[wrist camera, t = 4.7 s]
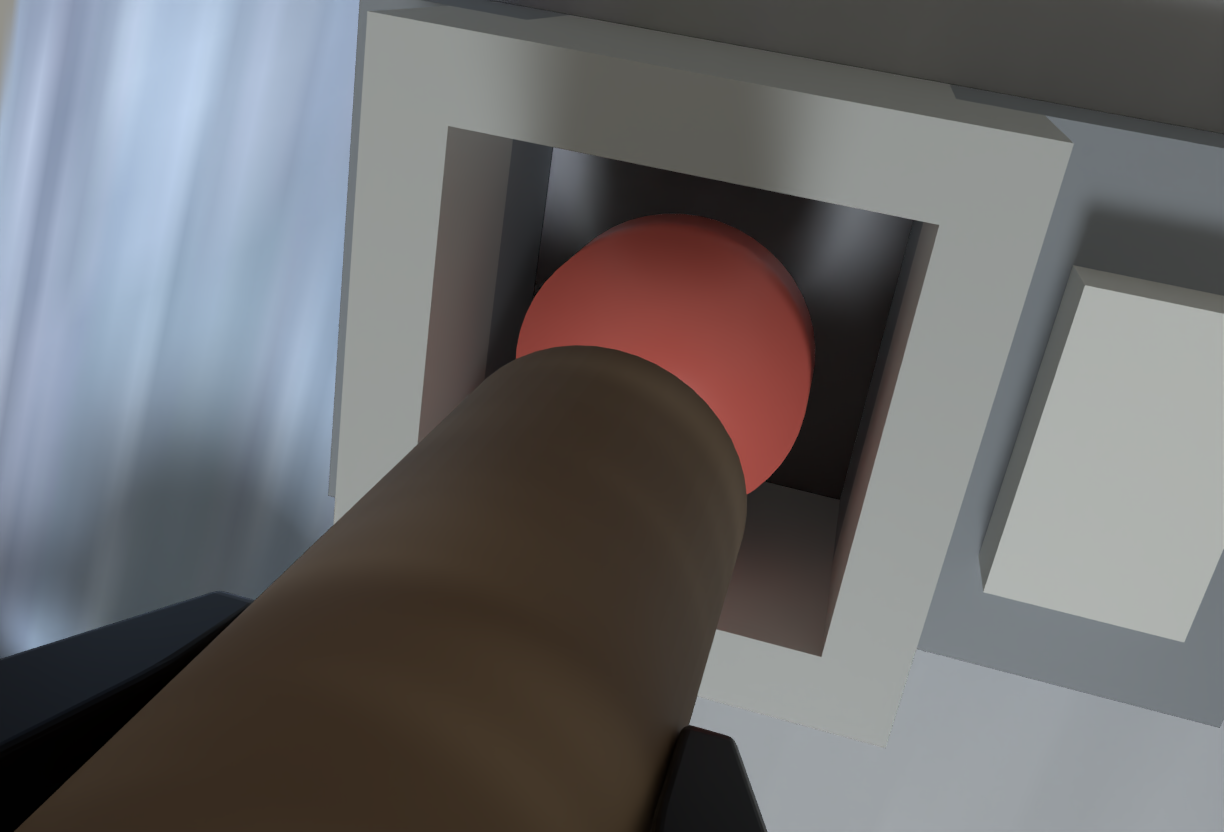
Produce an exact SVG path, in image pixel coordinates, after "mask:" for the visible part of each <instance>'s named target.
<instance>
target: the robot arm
mask: <svg viewBox="0 0 1224 832" xmlns="http://www.w3.org/2000/svg"><path fill="white" fill-rule="evenodd" d="M254 601H255V600H252V599H248V598H245V597H242V596H238V595H235V594H231V593H228V592H223V591H216V592H212V593H208V594H205V595H202V596H199V597H195V598H192V599H189V600H186V601H183V602H180V603H176V604H173V605H170V606H167V607H164V608H161V609H157V610H154V611H151V612H148V613H145V614H141V615H138V616H135V617H132V618H129V619H126V620H122V621H119V622H116V623H113V624H110V625H107V626H103V627H100V628H97V629H94V630H91V631H87V632H84V633H81V634H78V635H75V636H72V637H68V638H65V639H62V640H59V641H56V642H52V643H49V644H46V645H43V646H40V647H37V648H33V649H30V650H27V651H24V652H21V653H17V654H14V655H11V656H8V657H5V658H1V659H0V832H14V831H15V830H16V829H17V828H18V827H19V826H20V825H21V824H22V823H23V822H24V821H25V820H27V819H28V818H29V817H30V816H31V815H32V814H33V813H34V812H35V811H36V810H37V809H38V808H39V807H40V806H41V805H42V804H43V803H44V802H45V801H46V800H47V799H48V798H49V797H51V796H52V795H53V794H54V793H55V792H56V791H57V790H58V789H59V788H60V787H61V786H62V785H63V784H64V783H65V782H66V781H67V780H68V779H69V778H70V777H71V776H72V775H73V774H74V773H76V772H77V771H78V770H79V769H80V768H81V767H82V766H83V765H84V764H85V763H86V762H87V761H88V760H89V759H90V758H91V757H92V756H93V755H94V754H95V753H96V752H97V751H98V750H99V749H101V748H102V747H103V746H104V745H105V744H106V743H107V742H108V741H109V740H110V739H111V738H112V737H113V736H114V735H115V734H116V733H117V732H118V731H119V730H120V729H121V728H122V727H123V726H124V725H126V724H127V723H128V722H129V721H130V720H131V719H132V718H133V717H134V716H135V715H136V714H137V713H138V712H139V711H140V710H141V709H142V708H143V707H144V706H145V705H146V704H147V703H148V702H149V701H151V700H152V699H153V698H154V697H155V696H156V695H157V694H158V693H159V692H160V691H161V690H162V689H163V688H164V687H165V686H166V685H167V684H168V683H169V682H170V681H171V680H172V679H173V678H175V677H176V676H177V675H178V674H179V673H180V672H181V671H182V670H183V669H184V668H185V667H186V666H187V665H188V664H189V663H190V662H191V661H192V660H193V659H194V658H195V657H196V656H197V655H198V654H200V653H201V652H202V651H203V650H204V649H205V648H206V647H207V646H208V645H209V644H210V643H211V642H212V641H213V640H214V639H215V638H216V637H217V636H218V635H219V634H220V633H221V632H222V631H223V630H225V629H226V628H227V627H228V626H229V625H230V624H231V623H232V622H233V621H234V620H235V619H236V618H237V617H238V616H239V615H240V614H241V613H242V612H243V611H244V610H245V609H246V608H247V607H248V606H250V605H251V604H252V603H253V602H254ZM650 832H767V829H766V826H765V824H764V821H763V818H762V815H761V812H760V809H759V807H758V804H757V801H756V798H755V795H754V792H753V790H752V787H751V784H750V781H749V778H748V775H747V773H746V770H745V767H744V764H743V761H742V758H741V756H740V753H739V750H738V747H737V745H736V743H735V741H734V740H733V739H732V738H731V737H729V736H727V735H723V734H720V733H716V732H713V731H709V730H706V729H702V728H699V727H695V726H691V725H688V726H685V727H684V728H683V729H682V730H681V731H680V734H679V737H678V740H677V743H676V746H675V749H674V752H673V755H672V759H671V762H670V765H669V768H668V771H667V774H666V777H665V781H664V784H663V787H662V790H661V793H660V796H659V799H658V803H657V806H656V809H655V813H654V817H653V821H652V825H651V829H650Z"/></svg>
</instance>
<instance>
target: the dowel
mask: <svg viewBox="0 0 1224 832" xmlns="http://www.w3.org/2000/svg"><path fill="white" fill-rule="evenodd" d="M746 517H747V493H746V485H745V478H744V474H743V470H742V466H741V463H740V459H739V456H738V454H737V451H736V449H735V447H734V444H733V442H732V440H731V438H730V436H729V434H728V433H727V431H726V429H725V428H724V426H723V424H722V423H721V421H720V420H719V418H718V417H717V416H716V414H715V413H714V412H713V411H712V409H711V408H710V407H709V405H708V404H707V403H706V402H705V401H704V400H703V399H702V398H701V397H700V396H699V395H698V394H697V393H696V392H695V391H694V390H693V389H692V388H690V387H689V386H688V385H687V384H685V383H684V382H683V381H682V380H680V379H679V378H678V377H676V376H675V375H673V374H672V373H670V372H668V371H667V370H665V369H663V368H662V367H660V366H658V365H657V364H654V363H652V362H650V361H648V360H645V359H643V358H641V357H639V356H636V355H633V354H629V353H626V352H623V351H620V350H616V349H610V348H604V347H599V346H583V345H571V346H560V347H552V348H548V349H544V350H539V351H535V352H532V353H530V354H527V355H525V356H522V357H519V358H517V359H515V360H513V361H511V362H510V363H508V364H506V365H504V366H502V367H501V368H499V369H498V370H497V371H495V372H494V373H493V374H491V375H490V376H489V377H487V378H486V379H485V380H484V381H483V382H482V383H481V384H480V385H479V386H478V387H477V388H476V389H475V390H474V391H473V392H472V393H470V394H469V395H468V396H467V397H466V398H465V399H464V400H463V401H462V402H461V403H460V404H459V405H458V406H457V407H456V408H455V409H454V410H453V411H452V412H451V413H450V414H449V415H448V416H446V417H445V418H444V419H443V420H442V421H441V422H440V423H439V424H438V425H437V426H436V427H435V428H434V429H433V430H432V431H431V432H430V433H429V434H428V435H427V436H426V437H425V438H424V439H423V440H421V441H420V442H419V443H418V444H417V445H416V446H415V447H414V448H413V449H412V450H411V451H410V452H409V453H408V454H407V455H406V456H405V457H404V458H403V459H402V460H401V461H400V462H399V463H398V464H396V465H395V466H394V467H393V468H392V469H391V470H390V471H389V472H388V473H387V474H386V475H385V476H384V477H383V478H382V479H381V480H380V481H379V482H378V483H377V484H376V485H375V486H374V487H373V488H371V489H370V490H369V491H368V492H367V493H366V494H365V495H364V496H363V497H362V498H361V499H360V500H359V501H358V502H357V503H356V504H355V505H354V506H353V507H352V508H351V509H350V510H349V511H347V512H346V513H345V514H344V515H343V516H342V517H341V518H340V519H339V520H338V521H337V522H336V523H335V524H334V525H333V526H332V527H331V528H330V529H329V530H328V531H327V532H326V533H325V534H324V535H322V536H321V537H320V538H319V539H318V540H317V541H316V542H315V543H314V544H313V545H312V546H311V547H310V548H309V549H308V550H307V551H306V552H305V553H304V554H303V555H302V556H301V557H300V558H299V559H297V560H296V561H295V562H294V563H293V564H292V565H291V566H290V567H289V568H288V569H287V570H286V571H285V572H284V573H283V574H282V575H281V576H280V577H279V578H278V579H277V580H276V581H275V582H274V583H272V584H271V585H270V586H269V587H268V588H267V589H266V590H265V591H264V592H263V593H262V594H261V595H260V596H259V597H258V598H257V599H256V600H255V601H254V602H253V603H252V604H251V605H250V606H248V607H247V608H246V609H245V610H244V611H243V612H242V613H241V614H240V615H239V616H238V617H237V618H236V619H235V620H234V621H233V622H232V623H231V624H230V625H229V626H228V627H227V628H226V629H225V630H223V631H222V632H221V633H220V634H219V635H218V636H217V637H216V638H215V639H214V640H213V641H212V642H211V643H210V644H209V645H208V646H207V647H206V648H205V649H204V650H203V651H202V652H201V653H200V654H198V655H197V656H196V657H195V658H194V659H193V660H192V661H191V662H190V663H189V664H188V665H187V666H186V667H185V668H184V669H183V670H182V671H181V672H180V673H179V674H178V675H177V676H176V677H175V678H173V679H172V680H171V681H170V682H169V683H168V684H167V685H166V686H165V687H164V688H163V689H162V690H161V691H160V692H159V693H158V694H157V695H156V696H155V697H154V698H153V699H152V700H151V701H149V702H148V703H147V704H146V705H145V706H144V707H143V708H142V709H141V710H140V711H139V712H138V713H137V714H136V715H135V716H134V717H133V718H132V719H131V720H130V721H129V722H128V723H127V724H126V725H124V726H123V727H122V728H121V729H120V730H119V731H118V732H117V733H116V734H115V735H114V736H113V737H112V738H111V739H110V740H109V741H108V742H107V743H106V744H105V745H104V746H103V747H102V748H101V749H99V750H98V751H97V752H96V753H95V754H94V755H93V756H92V757H91V758H90V759H89V760H88V761H87V762H86V763H85V764H84V765H83V766H82V767H81V768H80V769H79V770H78V771H77V772H76V773H74V774H73V775H72V776H71V777H70V778H69V779H68V780H67V781H66V782H65V783H64V784H63V785H62V786H61V787H60V788H59V789H58V790H57V791H56V792H55V793H54V794H53V795H52V796H51V797H49V798H48V799H47V800H46V801H45V802H44V803H43V804H42V805H41V806H40V807H39V808H38V809H37V810H36V811H35V812H34V813H33V814H32V815H31V816H30V817H29V818H28V819H27V820H25V821H24V822H23V823H22V824H21V825H20V826H19V827H18V828H17V829H16V830H15V831H14V832H650V829H651V825H652V821H653V817H654V813H655V809H656V806H657V803H658V799H659V796H660V793H661V790H662V787H663V784H664V781H665V777H666V774H667V771H668V768H669V765H670V762H671V759H672V755H673V752H674V749H675V746H676V743H677V740H678V737H679V734H680V731H681V730H682V729H683V728H684V727H685V726H688V725H689V723H690V719H691V716H692V712H693V709H694V705H695V702H696V698H697V695H698V691H699V688H700V684H701V681H702V677H703V674H704V670H705V667H706V663H707V660H708V656H709V653H710V650H711V646H712V643H713V639H714V636H715V632H716V629H717V625H718V622H719V618H720V615H721V611H722V608H723V604H724V601H725V597H726V594H727V590H728V587H729V583H730V580H731V576H732V573H733V569H734V566H735V562H736V559H737V556H738V552H739V549H740V545H741V542H742V538H743V535H744V529H745V523H746Z"/></svg>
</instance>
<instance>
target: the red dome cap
mask: <svg viewBox="0 0 1224 832" xmlns="http://www.w3.org/2000/svg"><path fill="white" fill-rule="evenodd" d="M571 345H583V346H599V347H604V348H610V349H616V350H620V351H623V352H626V353H629V354H633V355H636V356H639V357H641V358H643V359H645V360H648V361H650V362H652V363H654V364H657V365H658V366H660V367H662V368H663V369H665V370H667V371H668V372H670V373H672V374H673V375H675V376H676V377H678V378H679V379H680V380H682V381H683V382H684V383H685V384H687V385H688V386H689V387H690V388H692V389H693V390H694V391H695V392H696V393H697V394H698V395H699V396H700V397H701V398H702V399H703V400H704V401H705V402H706V403H707V404H708V405H709V407H710V408H711V409H712V411H713V412H714V413H715V414H716V416H717V417H718V418H719V420H720V421H721V423H722V424H723V426H724V428H725V429H726V431H727V433H728V434H729V436H730V438H731V440H732V442H733V444H734V447H735V449H736V451H737V454H738V456H739V459H740V463H741V466H742V470H743V474H744V478H745V485H746V493H747V494H749V493H750V492H752V491H753V490H755V489H756V488H757V487H759V486H760V485H761V484H762V483H763V482H764V481H766V480H767V479H768V478H769V477H770V476H771V475H772V474H773V473H774V472H775V470H776V469H777V468H778V467H779V466H780V465H781V464H782V462H783V461H784V459H785V458H786V456H787V455H788V453H789V452H790V450H791V448H792V446H793V444H794V442H795V440H796V438H797V436H798V434H799V431H800V428H801V425H802V422H803V419H804V416H805V411H806V407H807V402H808V398H809V393H810V389H811V384H812V379H813V373H814V367H815V339H814V330H813V325H812V321H811V317H810V313H809V310H808V308H807V305H806V303H805V300H804V298H803V295H802V293H801V292H800V290H799V288H798V286H797V285H796V283H795V281H794V279H793V278H792V276H791V275H790V274H789V272H788V271H787V270H786V268H785V267H784V266H783V265H782V263H781V262H780V261H779V260H778V259H777V258H776V257H775V256H774V255H773V254H772V253H771V252H770V251H769V250H768V249H766V248H765V247H764V246H763V245H761V244H760V243H759V242H757V241H756V240H755V239H754V238H752V237H750V236H749V235H747V234H745V233H743V232H742V231H740V230H738V229H737V228H734V227H732V226H729V225H727V224H725V223H722V222H720V221H717V220H713V219H709V218H706V217H702V216H696V215H689V214H657V215H649V216H644V217H640V218H636V219H632V220H629V221H626V222H624V223H621V224H619V225H617V226H614V227H612V228H610V229H609V230H607V231H605V232H604V233H602V234H600V235H598V236H597V237H596V238H594V239H593V240H592V241H591V242H589V243H588V244H587V245H586V246H584V247H583V248H582V249H581V250H580V251H578V252H577V253H576V254H575V255H574V256H573V257H571V258H570V259H569V260H568V261H567V262H565V263H564V264H563V265H562V266H561V267H560V268H558V269H557V270H556V271H555V272H554V273H553V275H552V276H551V277H550V278H549V279H548V280H547V281H546V282H545V283H544V284H543V286H542V287H541V289H540V290H539V292H538V293H537V294H536V296H535V297H534V299H533V301H532V303H531V305H530V307H529V309H528V311H527V313H526V315H525V318H524V321H523V324H522V327H521V329H520V333H519V338H518V343H517V349H516V359H517V358H519V357H522V356H525V355H527V354H530V353H532V352H535V351H539V350H544V349H548V348H552V347H560V346H571Z"/></svg>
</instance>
